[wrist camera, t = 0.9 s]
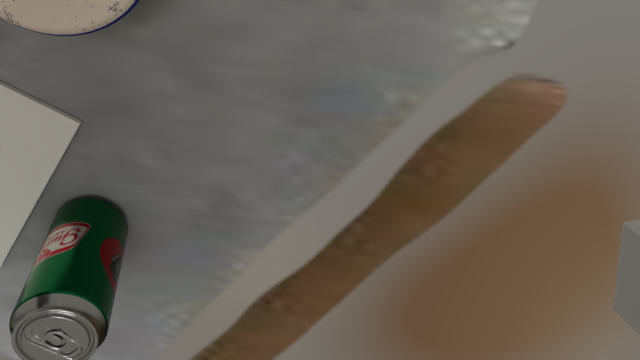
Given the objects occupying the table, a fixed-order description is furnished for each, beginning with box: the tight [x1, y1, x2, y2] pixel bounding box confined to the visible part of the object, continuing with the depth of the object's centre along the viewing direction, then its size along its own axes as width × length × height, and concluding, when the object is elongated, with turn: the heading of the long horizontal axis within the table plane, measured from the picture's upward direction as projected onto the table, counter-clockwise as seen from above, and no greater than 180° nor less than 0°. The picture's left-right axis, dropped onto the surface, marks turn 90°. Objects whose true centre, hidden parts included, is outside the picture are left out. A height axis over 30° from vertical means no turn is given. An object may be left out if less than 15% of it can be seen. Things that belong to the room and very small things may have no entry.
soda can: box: [9, 198, 128, 360], centre depth 34 cm, size 5×5×12 cm
